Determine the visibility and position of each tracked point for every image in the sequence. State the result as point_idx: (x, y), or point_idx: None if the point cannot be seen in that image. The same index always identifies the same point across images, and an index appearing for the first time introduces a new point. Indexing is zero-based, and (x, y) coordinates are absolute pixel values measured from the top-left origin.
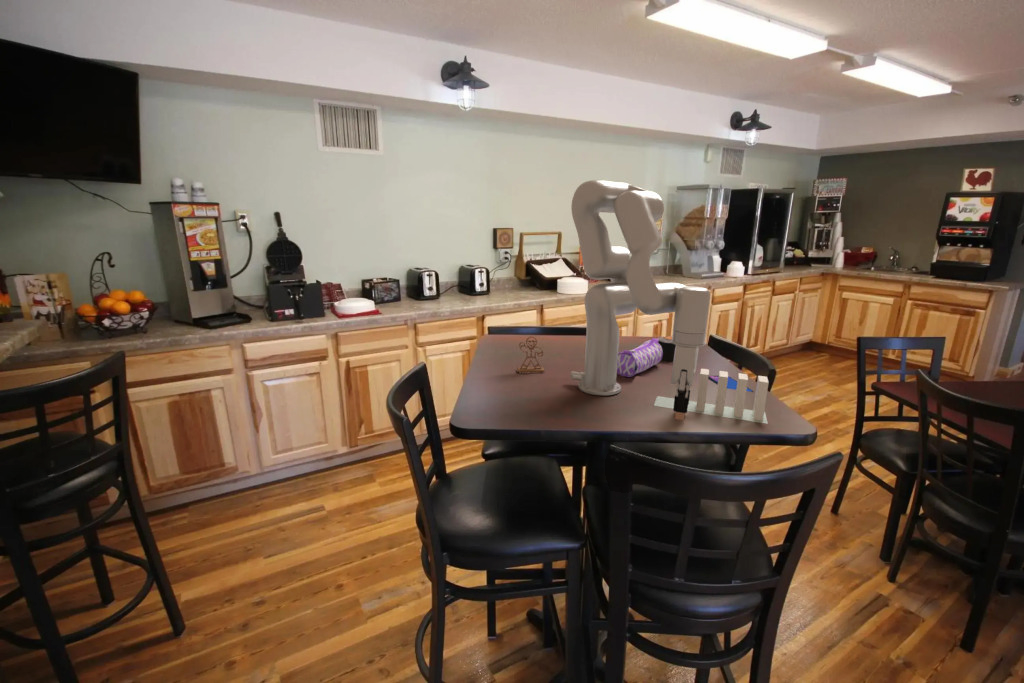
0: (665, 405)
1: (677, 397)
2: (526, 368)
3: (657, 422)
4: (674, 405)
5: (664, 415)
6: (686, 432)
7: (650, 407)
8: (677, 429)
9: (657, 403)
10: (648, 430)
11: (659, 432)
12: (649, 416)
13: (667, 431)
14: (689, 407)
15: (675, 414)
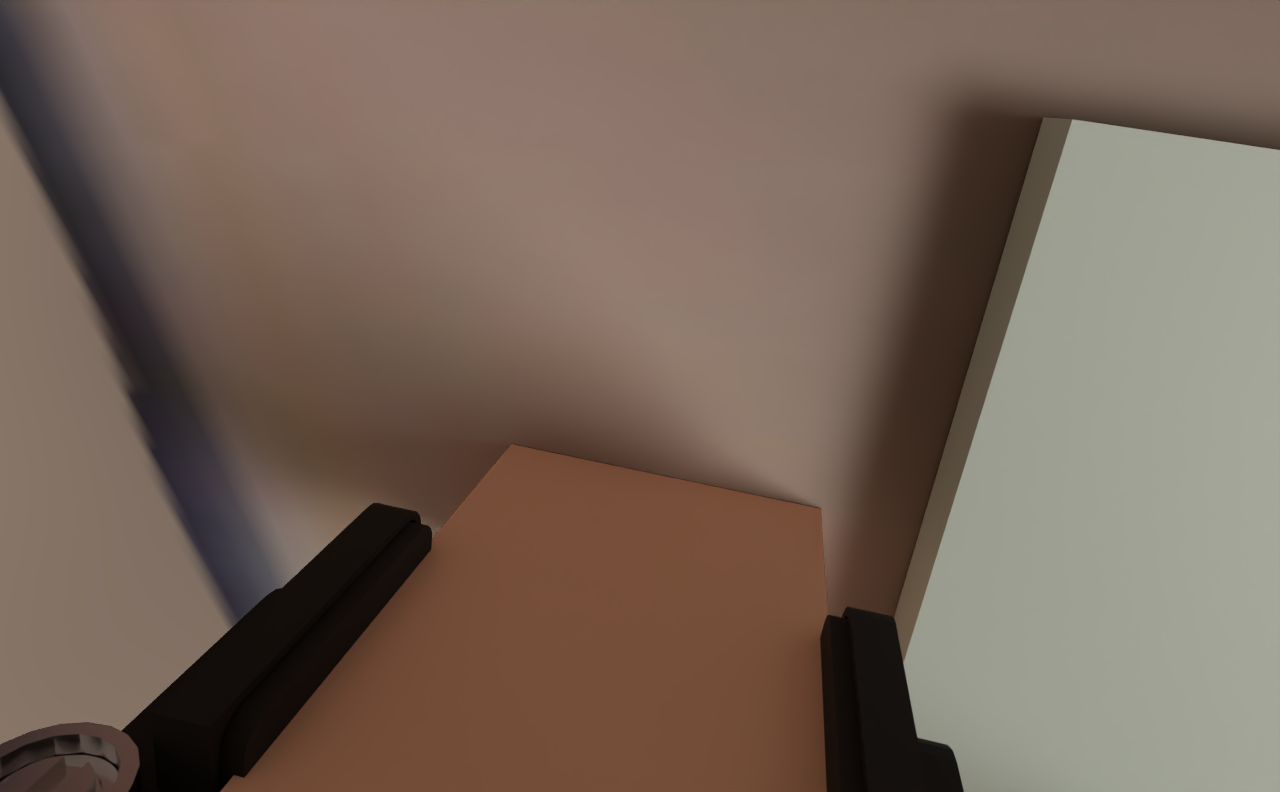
0: (1125, 380)
1: (181, 753)
2: None
3: (434, 180)
4: (316, 569)
5: (788, 318)
6: (254, 548)
7: (1195, 56)
8: (297, 453)
9: (1239, 214)
10: (68, 22)
11: (83, 195)
12: (661, 35)
13: (170, 311)
14: (1074, 776)
15: (459, 507)
